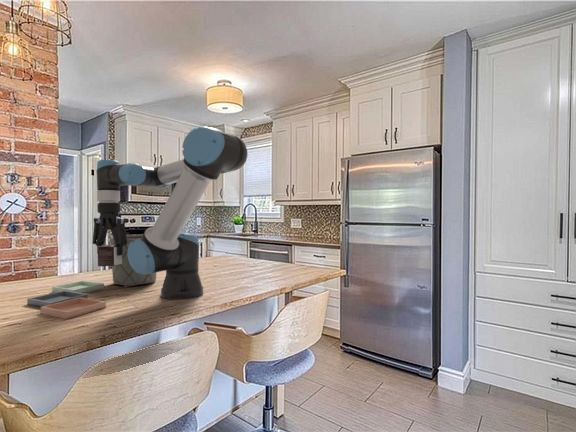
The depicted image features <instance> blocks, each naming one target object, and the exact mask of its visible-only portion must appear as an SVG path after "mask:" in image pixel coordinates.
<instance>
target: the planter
mask: <svg viewBox="0 0 576 432" xmlns="http://www.w3.org/2000/svg"><path fill="white" fill-rule="evenodd" d="M142 236H143V235H142V234H141V235H140V234H139V235H138V234H137V235H134V234H133V235H132V234H131V235H126V238H127V245H124V246H123V254H122V264H119V265H116V266H111V271H112V282H113V284H116V285H121V286H124V288H131V287H135V286H138V285H146V284H151V283H153V284H154V283H155V282H156V281H157V272H156V273H152V274H139V273H137V272H135V271H134V270H133V269H132V267H131V265H130V263H129V260H128V255H127V252H128V247H129V244H130V243H131V242H132V241H134V240H136V239H141V238H142ZM109 242H110V244H109V245H115V242H114V239H113V236H111V237H110V238H109ZM123 242H124V241H123ZM118 243H119V242H118Z"/></svg>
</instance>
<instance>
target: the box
mask: <svg viewBox="0 0 576 432" xmlns="http://www.w3.org/2000/svg"><path fill="white" fill-rule="evenodd" d="M114 246H115V245H110V244H105V245H103V246H98V254H97V266H98V267H112V266H116V265H114Z"/></svg>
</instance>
